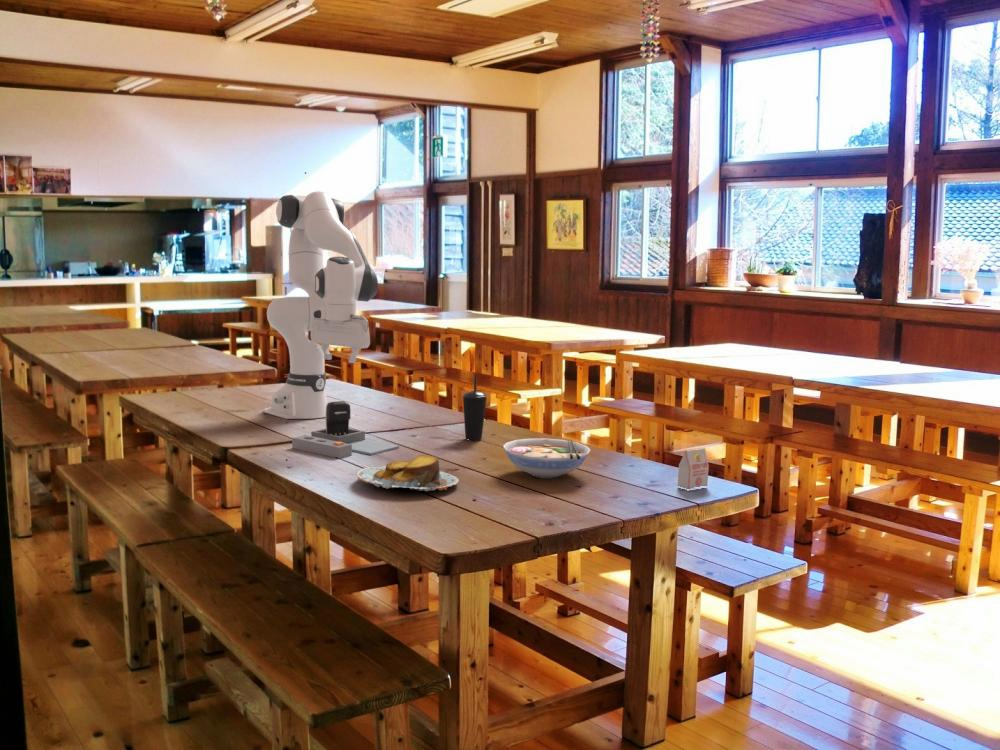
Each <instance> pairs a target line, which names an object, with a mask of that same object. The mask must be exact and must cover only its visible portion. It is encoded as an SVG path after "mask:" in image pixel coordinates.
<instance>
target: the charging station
mask: <svg viewBox="0 0 1000 750" xmlns="http://www.w3.org/2000/svg"><path fill="white" fill-rule="evenodd" d="M348 430H349V434H346V435H342V436H336V435H331V434H326V428H322V429H318V430H313V431H311V433H310V434H311V435H307V434H304V435H298V436H294V437H292V438H291V443H292V444H291V448H292V449H294V448H295V449H294V450H300V451H305V452H309V453H311V454H312V453H313V454H318V455H321V454H322V456H326V455H327V456H326V457H330V458H335V457H337V458H336V459H343V458H346V457H350V456H352V454H353V451H352V443H356V442H360V441H364V440H366V439H365V438H366V431H365V430H359V429H355V428H350V427H349V428H348Z"/></svg>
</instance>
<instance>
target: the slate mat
mask: <svg viewBox="0 0 1000 750" xmlns="http://www.w3.org/2000/svg"><path fill="white" fill-rule="evenodd" d="M351 444H352V453H353V452H354V453H358V454H364V455H368V456H372V455H373V456H375V455H378V454H381V453H386V452H389V451H394V450H397V449H400V445H396V444H391V443H386V442H380V441H377V440H371V439H365V440H361V441H357V442H353V443H351ZM385 451H386V452H385Z"/></svg>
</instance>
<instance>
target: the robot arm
mask: <svg viewBox="0 0 1000 750" xmlns="http://www.w3.org/2000/svg"><path fill="white" fill-rule="evenodd" d="M275 215H276V218H277V222H278V224H279V225H281V226H282V227H284V228H287V229H292V230H291V232H290V236H289V243H288V274H289V275H288V278H289V280H290V282H291V283H292V284H293V285H294V286H295V287H296V288H299V289H301V290H303V291H304V292H306V293H307V295H308V296H304V297H303V296H285V297H280V298H274V299H273V300H272V301H271V302H270V303H269V305H268V307H267V310H266V317H267V321H268V323H269V325H270V326H271V327H272V328H273V329H274V330H275V331H277V332H278V333H279V334H280V335H281V336H282V337H283V339H284V340H285V341H284V342H285V343H286V345H287V347H288V353H289V366H290V368H289V372H288V373H286V374H284V377H283V378H286V381H285V384H283V385H282V386H280V388H279V389H278V390H276V391H275V392H274V393H273V394H272V396H271V400H270V406H269V407H266V408H263V413H265V414H267V415H268V414H269V415H272V416H275V417H279V418H282V419H285V420H289V419H290V420H294V419H303V420H304V419H307V420H309V419H320V418H321V419H322V418H326V405H327V403H328V401H327V392H326V388H325V387H326V384H327V383H326V382H327V380H326V379H327V376H326V372H325V360H326V361H327V360H328V361H331V360H332V359H333V353H332V352H331V353H330V350H329V348H330V346H336V347H337V346H338V347H344V348H345V347H347V348H350V352H351V355H350V356H348V360H347V362H348V363H350V364H355V363H357V357H358V355H359V353H360V349H368V348H369V347H370V345H371V337H370V335H371V334H370V327H369V320H368V319H367V318H366V317H365V316H364V315H357V303H356V302H366V303H367V302H369V301H371V300H372V299H373V298H374V297H375V296H376V295H377V294H378V289H379V282H378V281H379V280H378V277H377V274H376V273H375V271H374V270H373V268H372V267H371V265H370V263H369V261H368V259H367V258H366V255H365V253H364V251H363V249H362V246H361V244H360V241H358V240H359V239H357V236H356V234H355V233H353V231H350V230H348V228H347V227H346V226H344V221H345V218H346V213H345V206H344V204H343V203H342V202H341V200H338V199H335V198H332V197H331V195H330V194H328V193H326V192H324V191H322V190H321V191H319V190H317V191H312V192H311V193H309V194H307V195H294V194H287V195H283V196H281V197H280V198H279V199H278V202H277V204H276V209H275ZM323 250H326V251H330V252H334V253H337V254H341V255H342V256H332V257H329V258H327V260H326V266H325V267H324V253H323ZM306 332H310V339H311V340H310V339H309V338H308V337H307V336H306Z"/></svg>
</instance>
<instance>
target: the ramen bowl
mask: <svg viewBox="0 0 1000 750" xmlns="http://www.w3.org/2000/svg"><path fill="white" fill-rule="evenodd" d="M502 448H503V450H504V452H505V454H506V455H507V458H509V460H510V461H511V463H512V464H513V465H514V467H516V468H518V469H519V470H520V471H522V472H525V473H527V474H530V475H531V476H532V475H534V476H533V477H535V476H537V477H536V478H538V477H543V478H542V479H554V478H553V477H556V478H559V477H561V476H563V475H566V474H569V473H573V472H575V471H576V470H578V468H580V467H581V466H582V464H583V462H585V460H587V457H588V456H589V454H590V452H591V448H590V447H589V446H587V445H584V444H581V443H580V442H577V441H572V438H571V437H569V438H567V440H565V439H557V438H556V439H555V438H546V437H545V438H544V437H543V438H522V439H515V440H511V441H507V442H506V443H505V444H503V445H502ZM558 476H559V477H558Z"/></svg>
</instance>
